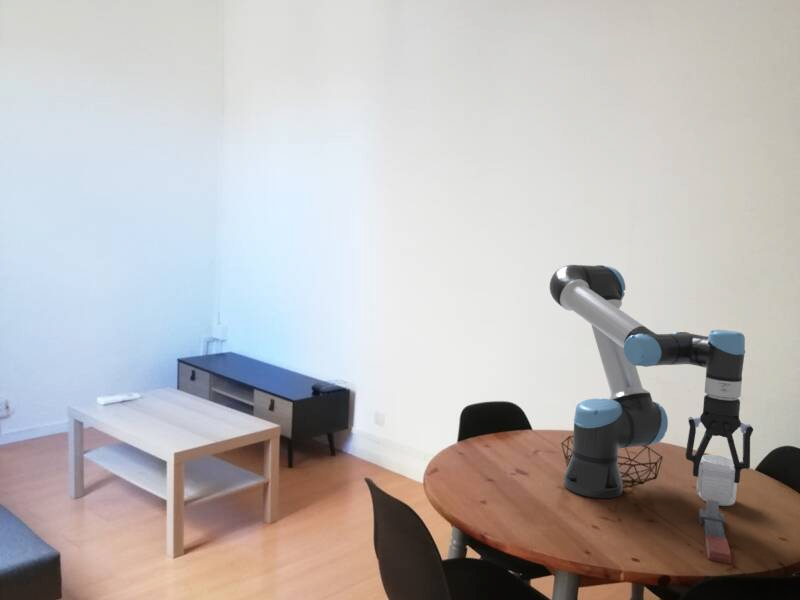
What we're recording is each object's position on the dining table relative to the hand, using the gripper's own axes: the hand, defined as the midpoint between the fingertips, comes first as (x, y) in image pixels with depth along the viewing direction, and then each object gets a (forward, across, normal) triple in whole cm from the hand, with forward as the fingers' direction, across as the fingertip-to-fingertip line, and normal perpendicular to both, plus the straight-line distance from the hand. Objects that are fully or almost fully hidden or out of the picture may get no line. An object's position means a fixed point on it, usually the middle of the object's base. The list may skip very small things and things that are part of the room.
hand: (714, 492), depth 145 cm
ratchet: (+8, 0, -9) cm, 12 cm away
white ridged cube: (+1, 0, 0) cm, 1 cm away
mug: (+8, +3, +15) cm, 17 cm away
